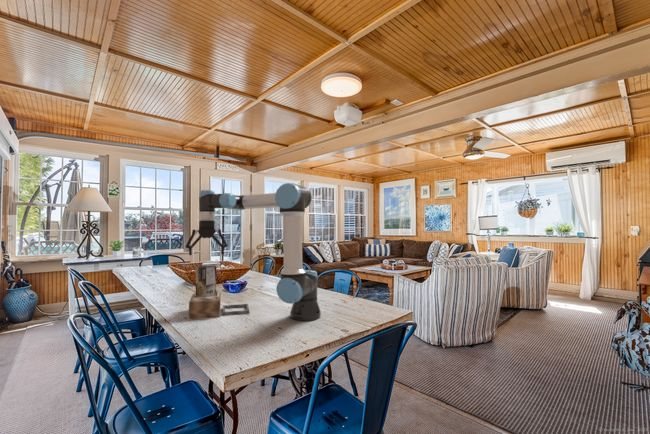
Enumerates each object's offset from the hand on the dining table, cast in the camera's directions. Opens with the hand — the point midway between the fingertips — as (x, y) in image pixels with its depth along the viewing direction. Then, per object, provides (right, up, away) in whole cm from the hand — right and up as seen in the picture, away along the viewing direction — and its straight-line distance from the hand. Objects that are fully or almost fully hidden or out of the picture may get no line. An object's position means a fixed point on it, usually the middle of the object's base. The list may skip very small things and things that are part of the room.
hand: (206, 261), depth 161 cm
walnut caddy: (+7, -27, +2) cm, 28 cm away
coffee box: (0, -19, 0) cm, 19 cm away
